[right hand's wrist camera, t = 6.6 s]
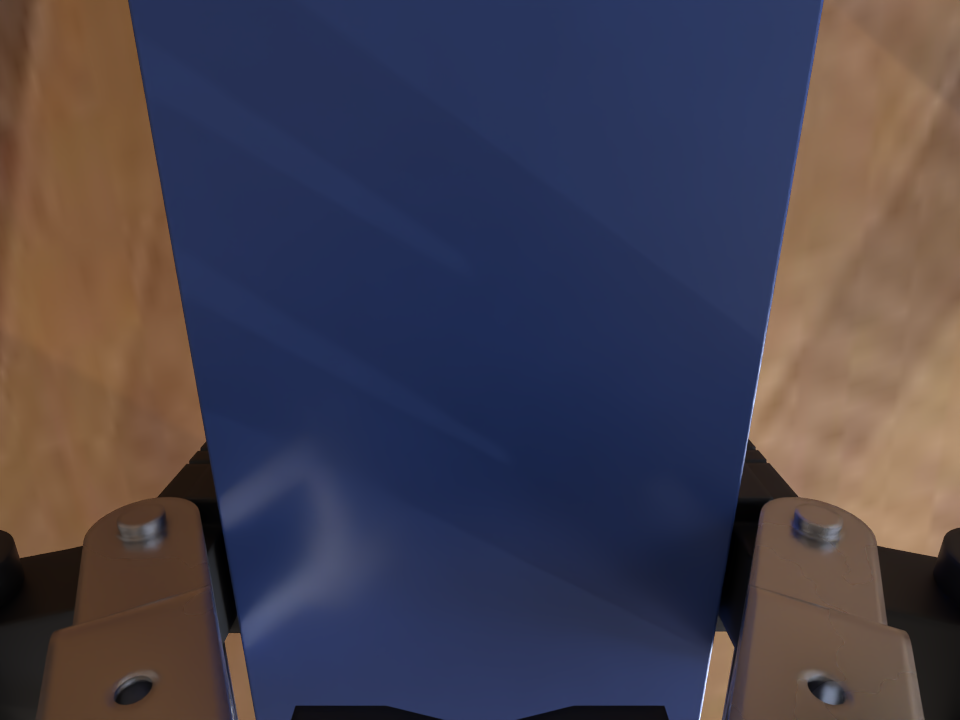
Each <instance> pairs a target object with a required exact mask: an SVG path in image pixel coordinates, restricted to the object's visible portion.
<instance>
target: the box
mask: <svg viewBox="0 0 960 720" xmlns="http://www.w3.org/2000/svg"><path fill="white" fill-rule="evenodd" d="M823 1H824V0H128V2H129V8H130V13H131V19H132V25H133V30H134V36H135V42H136V47H137V53H138V58H139V64H140V70H141V75H142V81H143V87H144V92H145V98H146V103H147V109H148V115H149V120H150V126H151V132H152V137H153V143H154V149H155V154H156V160H157V165H158V171H159V177H160V182H161V188H162V194H163V199H164V205H165V210H166V216H167V222H168V227H169V233H170V239H171V244H172V250H173V256H174V261H175V267H176V272H177V278H178V284H179V289H180V295H181V301H182V306H183V312H184V317H185V323H186V329H187V334H188V340H189V346H190V351H191V357H192V363H193V368H194V374H195V379H196V385H197V391H198V396H199V402H200V408H201V413H202V419H203V424H204V430H205V436H206V441H207V447H208V453H209V458H210V464H211V470H212V475H213V481H214V486H215V492H216V498H217V503H218V509H219V515H220V520H221V526H222V531H223V537H224V543H225V548H226V554H227V560H228V565H229V571H230V577H231V582H232V588H233V593H234V599H235V605H236V610H237V616H238V622H239V627H240V633H241V638H242V644H243V650H244V655H245V661H246V667H247V672H248V678H249V684H250V689H251V695H252V700H253V706H254V712H255V717H256V720H291V718H292V715H293V712H294V709H295V706H390V707H394V708H398V709H402V710H406V711H410V712H414V713H418V714H423V715H427V716H431V717H435V718H439V719H443V720H517V719H521V718H525V717H529V716H533V715H537V714H542V713H546V712H550V711H554V710H558V709H562V708H566V707H570V706H665V709H666V712H667V715H668V718H669V720H700V717H701V711H702V705H703V699H704V694H705V688H706V682H707V676H708V670H709V664H710V659H711V653H712V647H713V641H714V635H715V629H716V624H717V618H718V612H719V606H720V600H721V595H722V589H723V583H724V577H725V571H726V565H727V560H728V554H729V548H730V542H731V536H732V531H733V525H734V519H735V513H736V507H737V501H738V496H739V490H740V484H741V478H742V472H743V467H744V461H745V455H746V449H747V443H748V437H749V432H750V426H751V420H752V414H753V408H754V403H755V397H756V391H757V385H758V379H759V373H760V368H761V362H762V356H763V350H764V344H765V339H766V333H767V327H768V321H769V315H770V309H771V304H772V298H773V292H774V286H775V280H776V275H777V269H778V263H779V257H780V251H781V245H782V240H783V234H784V228H785V222H786V216H787V211H788V205H789V199H790V193H791V187H792V181H793V176H794V170H795V164H796V158H797V152H798V147H799V141H800V135H801V129H802V123H803V117H804V112H805V106H806V100H807V94H808V88H809V83H810V77H811V71H812V65H813V59H814V53H815V48H816V42H817V36H818V30H819V24H820V19H821V13H822V7H823Z"/></svg>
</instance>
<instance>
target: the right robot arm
mask: <svg viewBox="0 0 960 720" xmlns="http://www.w3.org/2000/svg"><path fill="white" fill-rule="evenodd" d="M715 631H727V633H728V635H729V637H730V639H731V641H732V643H733V645H734V653H733V658H732V663H731V669H730V675H729V681H728V687H727V693H726V699H725V705H724V711H723V716H722V720H960V528H956V529H953V530H951V531H949V532H948V533H947V534H946V535H945V536H944V539H943V542H942V545H941V549H940V552H939V555H938V558H937V557H932V556H927V555H921V554H916V553H911V552H906V551H901V550H895V549H890V548H885V547H880V546H877V542H876V538H875V535H874V534H873V532H872V530H871V529H870V528H869V527H868V526H867V525H866V524H865V523H864V522H863V521H861V520H860V519H859V518H857V517H856V516H854V515H853V514H851V513H849V512H847V511H845V510H843V509H841V508H839V507H837V506H834V505H831V504H828V503H825V502H822V501H818V500H813V499H808V498H800V497H798V496H797V495H796V493H795V492H794V491H793V490H792V489H791V488H790V487H789V485H788V484H787V483H786V482H785V481H784V480H783V478H782V477H781V476H780V475H779V474H778V473H777V472H776V470H775V469H774V468H773V467H772V466H771V465H770V463H767V462H766V459H765V458H764V456H763V455H762V454H761V453H760V452H759V451H758V450H756V449H755V446H754V445H753V444H752V443H751V441H750V440H749V439H748V443H747V449H746V455H745V461H744V467H743V472H742V478H741V484H740V490H739V496H738V501H737V507H736V513H735V519H734V525H733V531H732V536H731V542H730V548H729V554H728V560H727V565H726V571H725V577H724V583H723V589H722V595H721V600H720V606H719V612H718V618H717V624H716V629H715ZM228 633H240V627H239V622H238V616H237V610H236V605H235V599H234V593H233V588H232V582H231V577H230V571H229V565H228V560H227V554H226V548H225V543H224V537H223V531H222V526H221V520H220V515H219V509H218V503H217V498H216V492H215V486H214V481H213V475H212V470H211V464H210V458H209V453H208V447H207V441H206V442H205V443H204V445H203V446H202V447H201V450H200V451H197V453H196V454H195V455H194V456H193V457H192V458H191V459H190V461H189V464H186V465H185V466H184V468H183V469H182V470H181V471H180V472H179V473H178V474H177V476H176V477H175V478H174V479H173V480H172V481H171V482H170V484H169V485H168V486H167V487H166V488H165V489H164V490H163V492H162V493H161V494H160V495H159V496H158V497H157V498H152V499H147V500H142V501H138V502H135V503H132V504H129V505H126V506H123V507H121V508H119V509H117V510H115V511H113V512H111V513H109V514H107V515H106V516H104V517H103V518H101V519H100V520H99V521H97V522H96V523H95V524H94V525H93V526H92V527H91V528H90V529H89V530H88V532H87V534H86V535H85V538H84V542H83V546H80V547H76V548H71V549H66V550H61V551H56V552H51V553H46V554H40V555H35V556H30V557H25V558H19V555H18V552H17V548H16V545H15V542H14V539H13V537H12V536H11V535H10V534H9V533H7V532H5V531H2V530H0V720H238V716H237V710H236V705H235V699H234V693H233V687H232V681H231V675H230V669H229V663H228V658H227V653H226V648H225V642H224V641H225V639H226V637H227V635H228ZM291 720H443V719H439V718H435V717H431V716H427V715H423V714H418V713H414V712H410V711H406V710H402V709H398V708H394V707H390V706H295V709H294V712H293V715H292V718H291ZM517 720H669V718H668V715H667V712H666V709H665V706H570V707H566V708H562V709H558V710H554V711H550V712H546V713H542V714H537V715H533V716H529V717H525V718H521V719H517Z"/></svg>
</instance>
